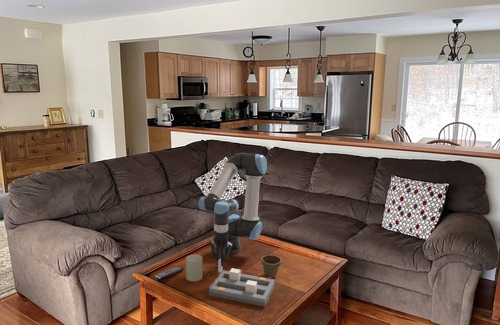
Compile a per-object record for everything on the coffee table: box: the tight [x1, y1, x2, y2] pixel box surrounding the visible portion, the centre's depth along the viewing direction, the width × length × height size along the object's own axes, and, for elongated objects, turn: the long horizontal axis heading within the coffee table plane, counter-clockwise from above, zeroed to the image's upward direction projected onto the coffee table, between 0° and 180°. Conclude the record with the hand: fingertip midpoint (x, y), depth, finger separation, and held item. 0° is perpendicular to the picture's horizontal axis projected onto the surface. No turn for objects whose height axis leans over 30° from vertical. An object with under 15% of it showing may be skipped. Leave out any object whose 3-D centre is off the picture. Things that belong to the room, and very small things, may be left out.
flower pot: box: [260, 254, 282, 279], centre depth 213 cm, size 12×11×10 cm
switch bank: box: [208, 269, 276, 308], centre depth 197 cm, size 20×30×4 cm, turn 73°
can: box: [185, 254, 203, 282], centre depth 208 cm, size 9×9×12 cm
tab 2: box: [245, 280, 257, 294], centre depth 190 cm, size 4×5×6 cm
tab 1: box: [229, 267, 242, 281], centre depth 202 cm, size 4×5×6 cm
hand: (220, 271), depth 204 cm, fingers closed
